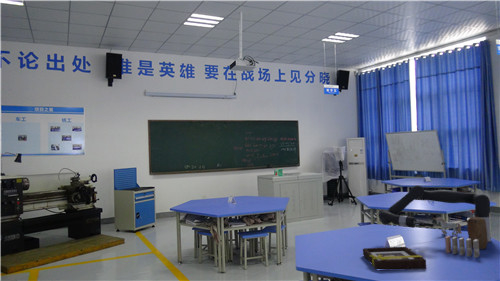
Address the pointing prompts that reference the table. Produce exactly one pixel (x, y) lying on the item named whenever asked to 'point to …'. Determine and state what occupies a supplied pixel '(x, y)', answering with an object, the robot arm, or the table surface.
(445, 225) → the unicorn figurine
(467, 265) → the table surface
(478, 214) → the robot arm
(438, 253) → the table surface
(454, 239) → the domino
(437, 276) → the table surface
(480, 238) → the block
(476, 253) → the domino
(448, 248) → the domino
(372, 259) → the picture frame
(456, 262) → the table surface
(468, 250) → the domino
